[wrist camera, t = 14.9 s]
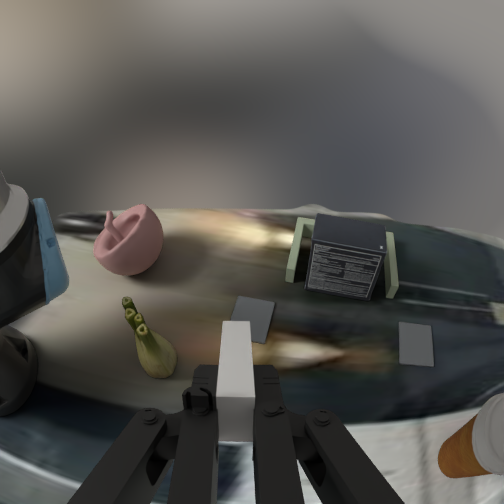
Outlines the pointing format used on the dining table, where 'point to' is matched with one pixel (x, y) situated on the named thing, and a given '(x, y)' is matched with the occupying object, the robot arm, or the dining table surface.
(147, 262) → the mortar and pestle
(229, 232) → the dining table surface
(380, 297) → the dining table surface
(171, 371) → the fennel bulb
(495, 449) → the disposable coffee cup
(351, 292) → the small box
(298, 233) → the track
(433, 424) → the dining table surface
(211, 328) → the dining table surface
